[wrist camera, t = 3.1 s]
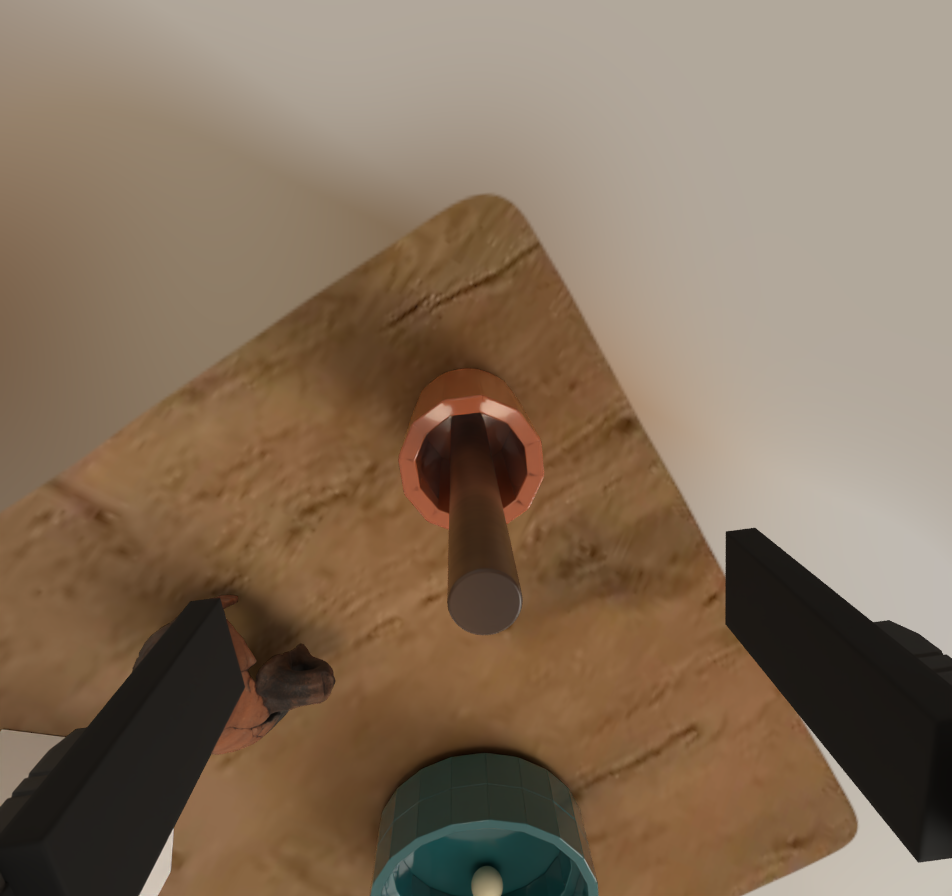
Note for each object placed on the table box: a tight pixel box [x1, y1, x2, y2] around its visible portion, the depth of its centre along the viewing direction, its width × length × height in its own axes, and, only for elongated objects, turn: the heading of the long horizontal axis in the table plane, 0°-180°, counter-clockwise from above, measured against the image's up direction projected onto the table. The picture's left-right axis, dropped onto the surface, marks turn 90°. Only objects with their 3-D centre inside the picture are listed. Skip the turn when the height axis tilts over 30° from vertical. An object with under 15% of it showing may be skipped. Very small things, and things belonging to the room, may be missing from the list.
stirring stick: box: [447, 413, 523, 635], centre depth 25 cm, size 2×2×20 cm
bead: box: [471, 866, 503, 896], centre depth 43 cm, size 2×2×2 cm
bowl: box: [369, 753, 599, 896], centre depth 41 cm, size 15×15×6 cm
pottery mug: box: [132, 595, 335, 754], centre depth 36 cm, size 12×10×8 cm
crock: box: [398, 368, 544, 529], centre depth 30 cm, size 7×7×9 cm
